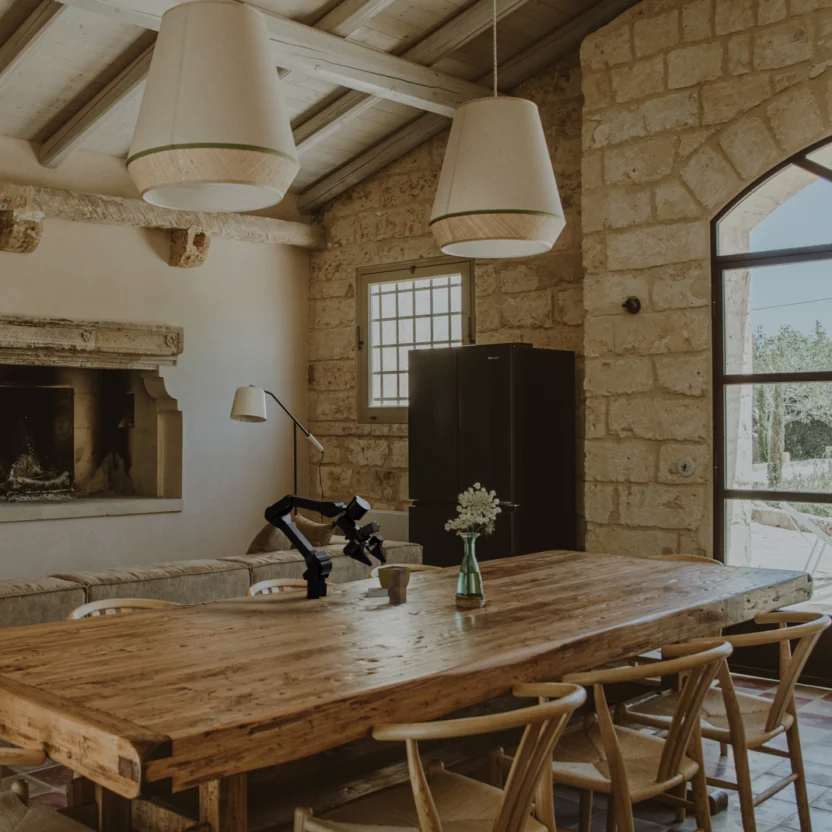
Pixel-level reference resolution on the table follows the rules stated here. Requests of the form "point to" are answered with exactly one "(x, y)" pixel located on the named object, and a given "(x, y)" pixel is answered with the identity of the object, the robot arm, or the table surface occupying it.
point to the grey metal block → (378, 592)
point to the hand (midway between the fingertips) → (378, 564)
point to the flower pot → (384, 575)
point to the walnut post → (397, 586)
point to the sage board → (385, 599)
